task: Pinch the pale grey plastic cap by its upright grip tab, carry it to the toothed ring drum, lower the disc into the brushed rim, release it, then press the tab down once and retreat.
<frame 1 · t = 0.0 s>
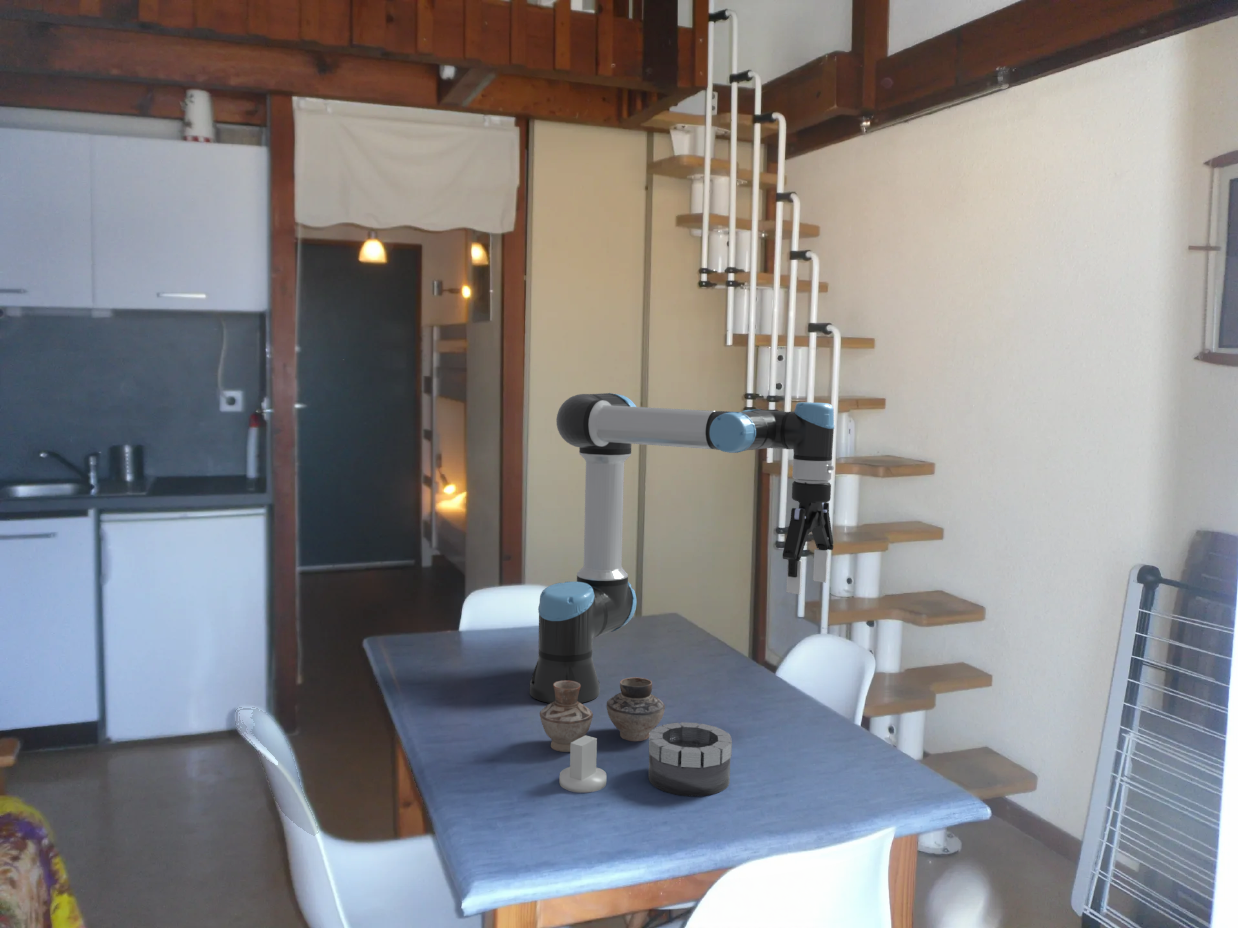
hand: (807, 587, 199), 28 cm above the table, fingers open, 13 cm apart
cap: (582, 783, 171), on the table
toothed ring drum: (688, 778, 173), on the table
pottery: (602, 742, 190), on the table
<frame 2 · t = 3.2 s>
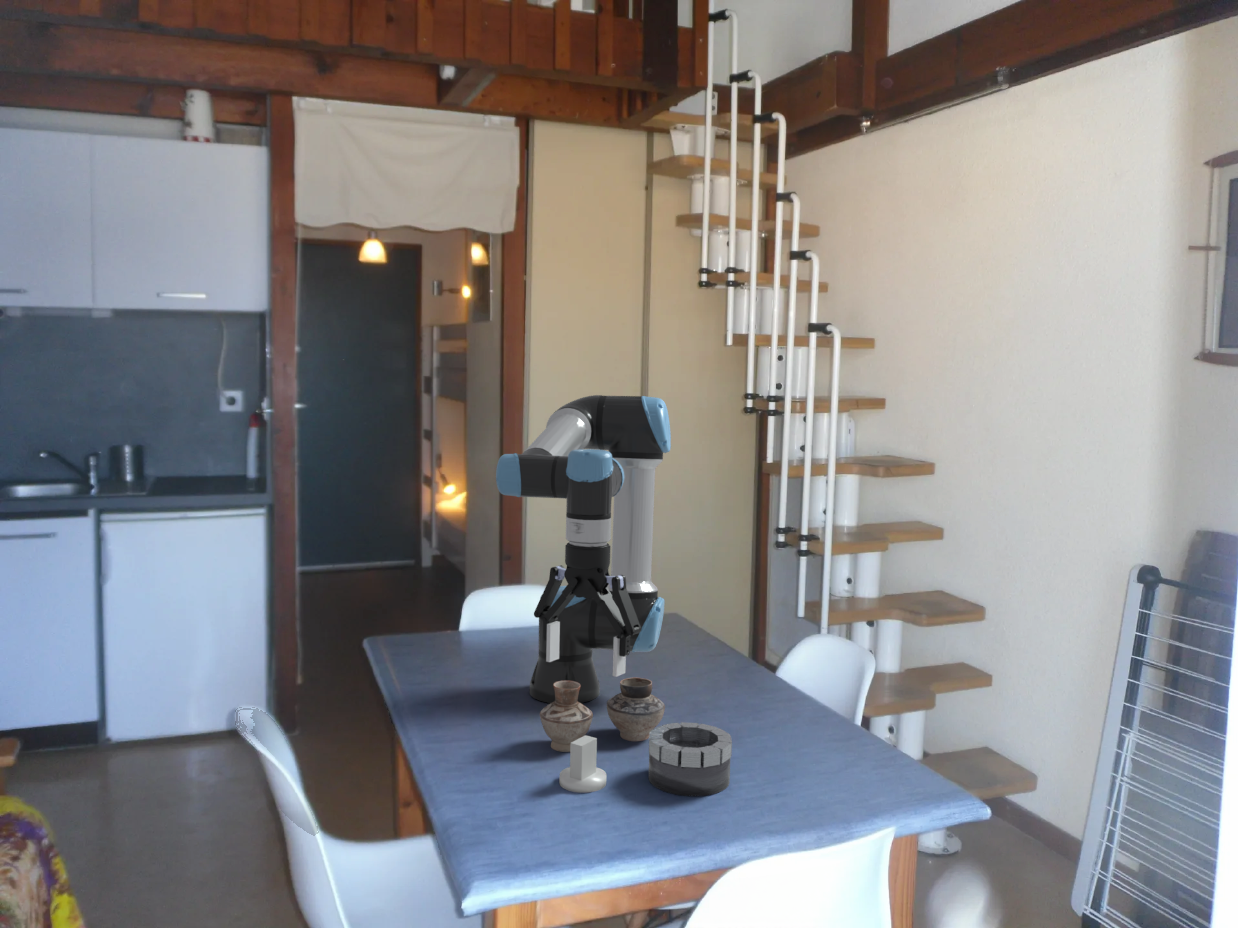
hand: (585, 667, 169), 20 cm above the table, fingers open, 13 cm apart
nothing on the table moved.
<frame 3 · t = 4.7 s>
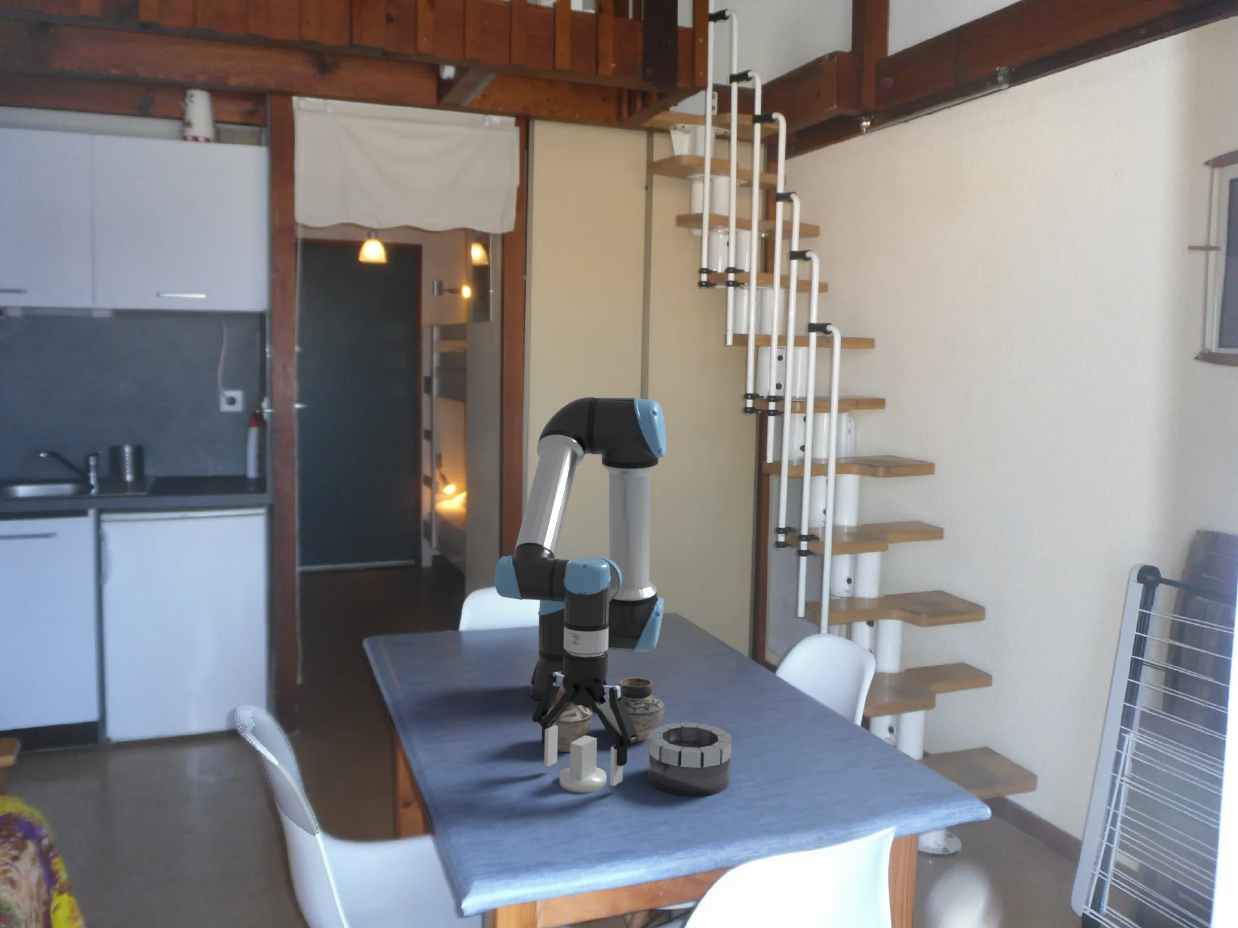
hand: (582, 773, 170), 2 cm above the table, fingers open, 13 cm apart
nothing on the table moved.
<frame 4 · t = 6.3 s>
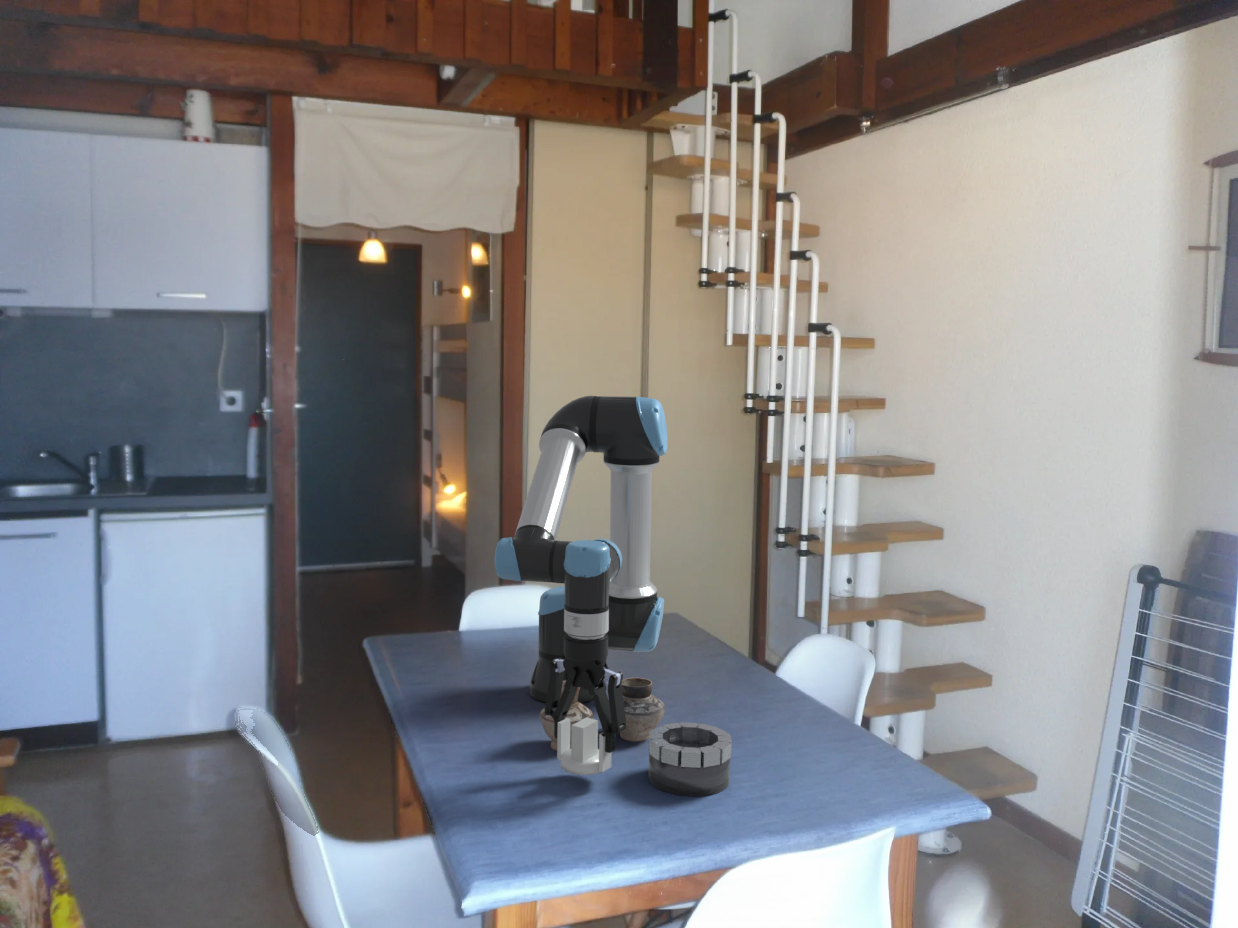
hand: (584, 762, 171), 3 cm above the table, fingers closed on cap, 8 cm apart
cap: (584, 764, 171), point 3 cm above the table, touching gripper
everything else where it was.
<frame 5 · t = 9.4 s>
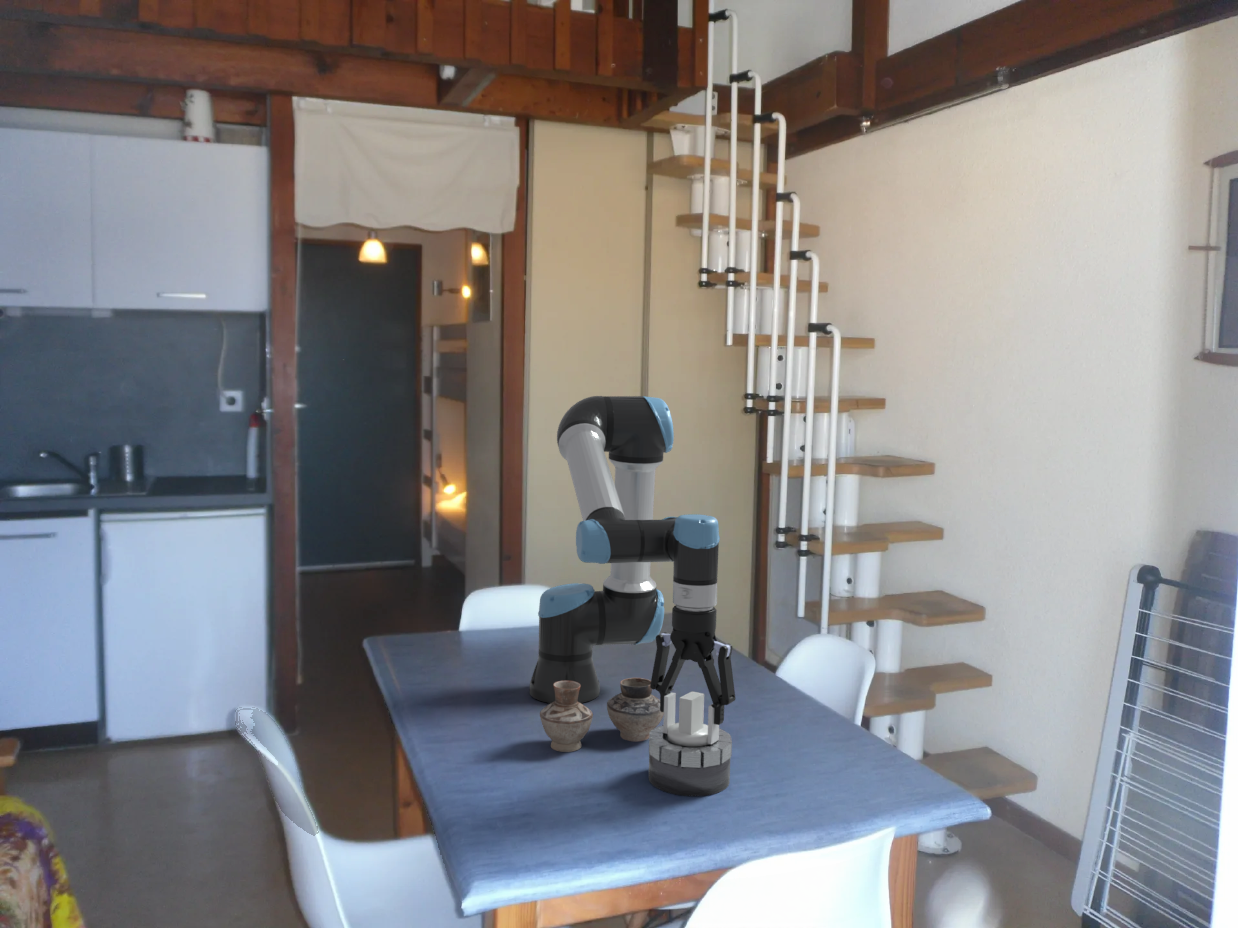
hand: (690, 736, 172), 8 cm above the table, fingers closed on cap, 8 cm apart
cap: (690, 738, 172), point 7 cm above the table, touching gripper
everything else where it was.
when the fingers open (8 cm above the table, at t = 11.0 s): cap drops 2 cm, resting on toothed ring drum.
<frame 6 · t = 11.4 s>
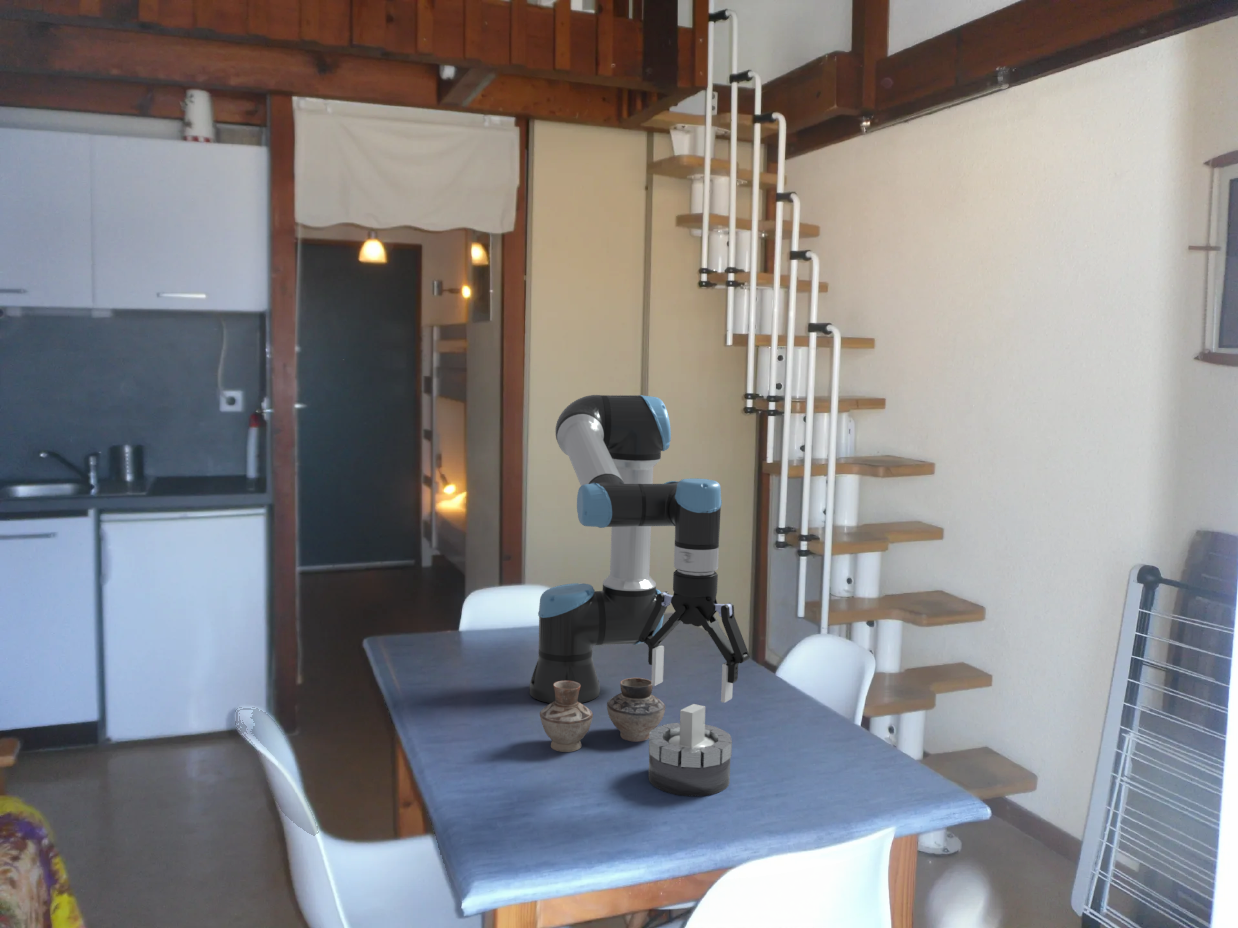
hand: (691, 691, 172), 15 cm above the table, fingers open, 13 cm apart
cap: (691, 750, 173), point 5 cm above the table, touching toothed ring drum
everything else where it was.
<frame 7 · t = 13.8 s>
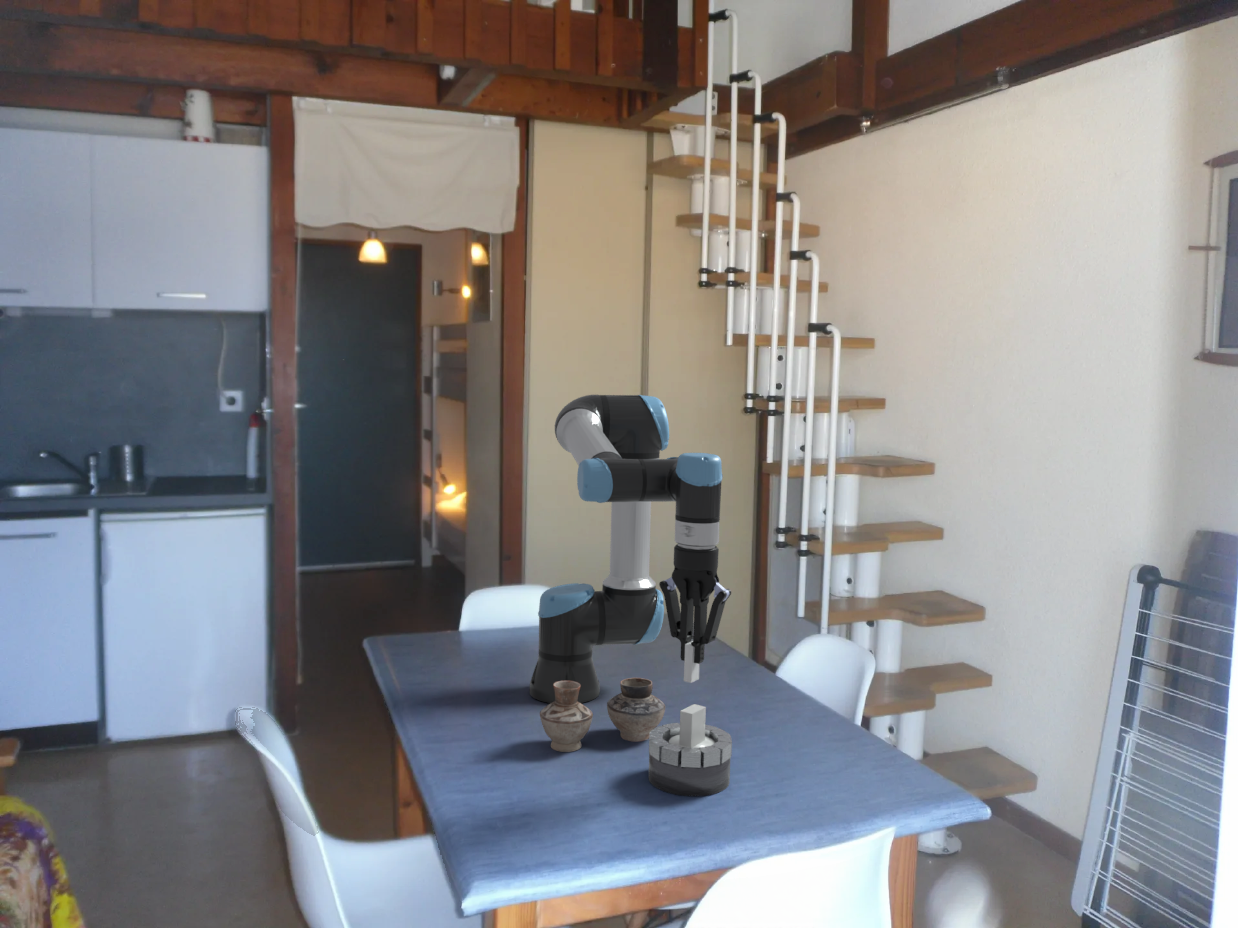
hand: (691, 679, 172), 17 cm above the table, fingers closed
nothing on the table moved.
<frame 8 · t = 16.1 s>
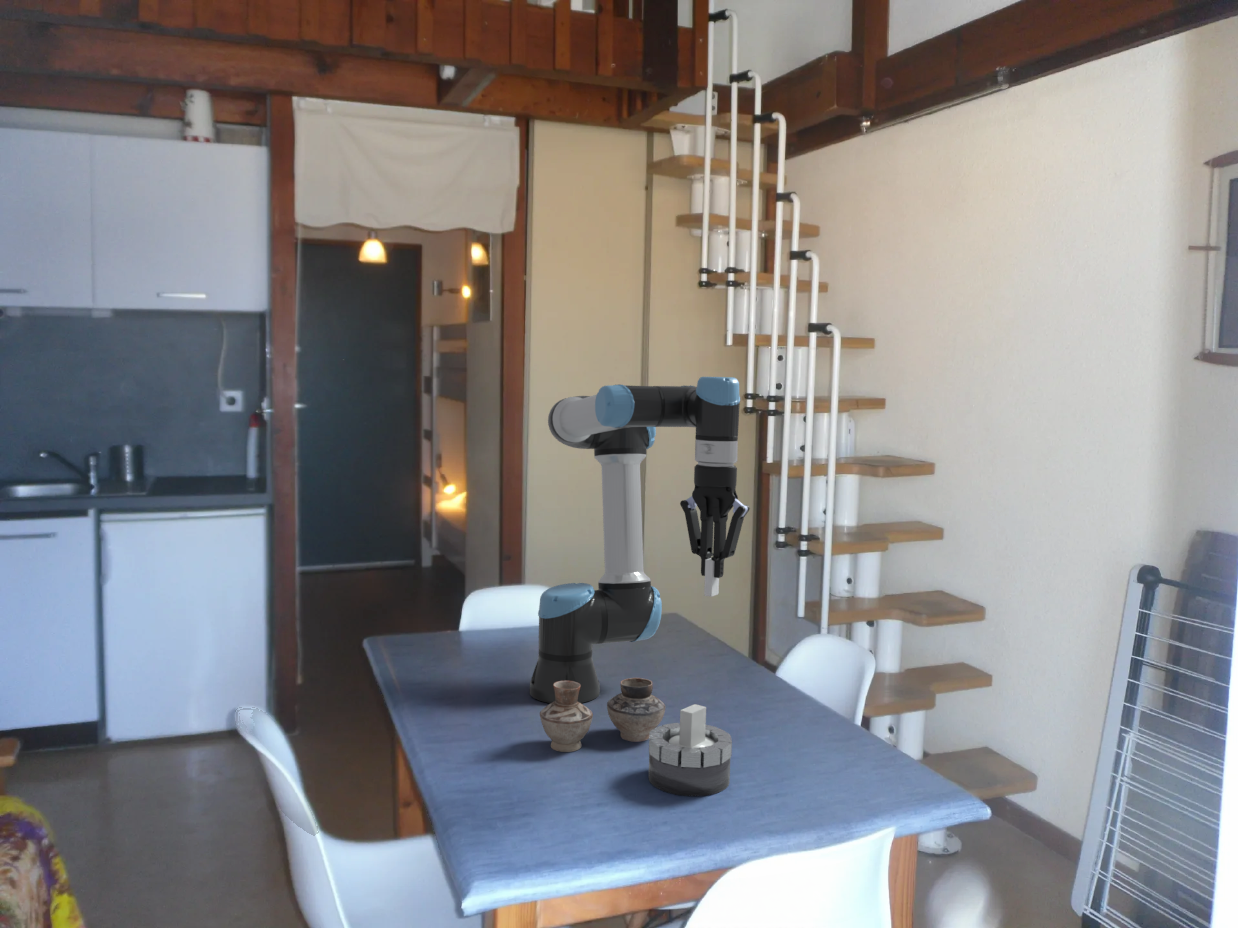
hand: (711, 594, 180), 30 cm above the table, fingers closed
nothing on the table moved.
at the end: cap 0.4 cm off-centre on the toothed ring drum, point 5.0 cm above the toothed ring drum's base; cap tilted 1°; the gripper is holding nothing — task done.
